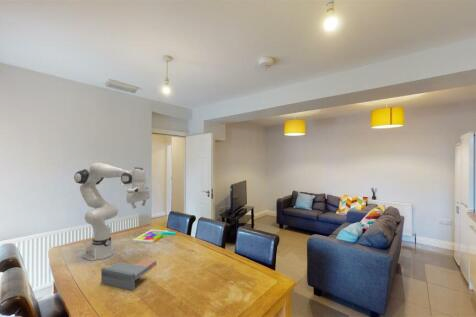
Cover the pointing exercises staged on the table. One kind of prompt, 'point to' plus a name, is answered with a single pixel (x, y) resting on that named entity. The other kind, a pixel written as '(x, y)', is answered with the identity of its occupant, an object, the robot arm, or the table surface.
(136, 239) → the puzzle game
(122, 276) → the grey block
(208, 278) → the table surface
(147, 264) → the tile
